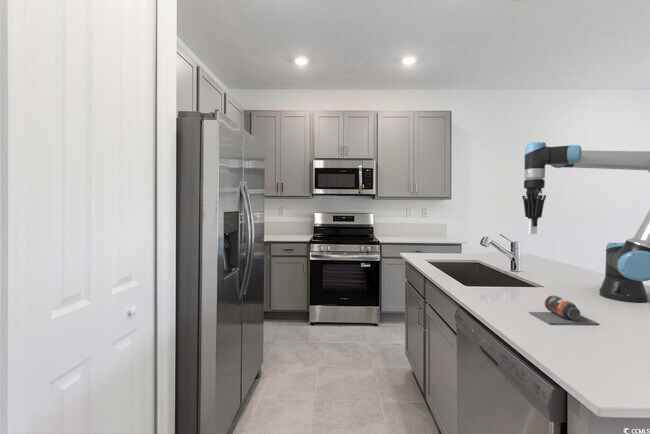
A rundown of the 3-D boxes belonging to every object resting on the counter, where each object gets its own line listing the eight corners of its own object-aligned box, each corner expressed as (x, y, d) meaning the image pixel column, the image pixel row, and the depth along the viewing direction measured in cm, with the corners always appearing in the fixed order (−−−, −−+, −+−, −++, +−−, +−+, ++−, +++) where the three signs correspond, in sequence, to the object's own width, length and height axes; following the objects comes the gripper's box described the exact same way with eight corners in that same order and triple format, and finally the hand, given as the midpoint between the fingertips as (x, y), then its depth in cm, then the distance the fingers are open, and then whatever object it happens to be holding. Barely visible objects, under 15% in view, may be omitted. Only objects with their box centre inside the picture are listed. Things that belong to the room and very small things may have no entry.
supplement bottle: (555, 313, 119) (577, 326, 108) (540, 306, 119) (561, 317, 108) (563, 299, 119) (587, 310, 108) (549, 291, 119) (570, 301, 108)
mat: (574, 313, 118) (574, 312, 118) (599, 325, 107) (599, 323, 107) (529, 313, 118) (529, 311, 118) (549, 324, 107) (549, 323, 107)
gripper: (516, 180, 148) (515, 232, 149) (534, 178, 135) (533, 235, 136) (533, 180, 148) (532, 232, 149) (553, 178, 135) (551, 235, 136)
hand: (532, 233), depth 142 cm, fingers closed
